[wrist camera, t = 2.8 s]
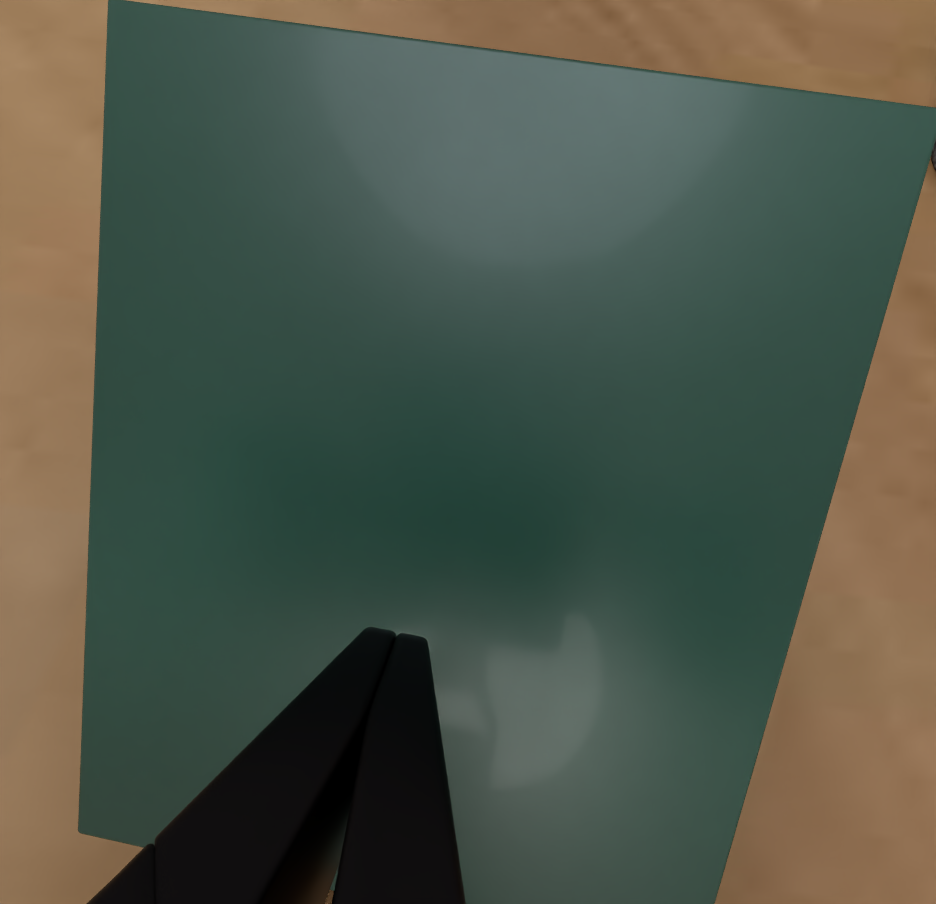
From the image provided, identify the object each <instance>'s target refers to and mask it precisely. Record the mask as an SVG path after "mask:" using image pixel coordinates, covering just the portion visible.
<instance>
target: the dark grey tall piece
mask: <svg viewBox="0 0 936 904" xmlns="http://www.w3.org/2000/svg"><path fill="white" fill-rule="evenodd" d="M931 155H932V162H933V165H934V167H935V169H936V140H935V143H934V147H933V150H932V154H931Z"/></svg>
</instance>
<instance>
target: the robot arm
mask: <svg viewBox="0 0 936 904" xmlns="http://www.w3.org/2000/svg"><path fill="white" fill-rule="evenodd" d="M338 866H339V868H338ZM337 868H338V873H337V878H336V884H335V889H334V894H333V900H332V904H466V901H465V894H464V887H463V881H462V874H461V867H460V860H459V853H458V846H457V839H456V832H455V825H454V819H453V812H452V805H451V798H450V791H449V784H448V777H447V770H446V763H445V756H444V750H443V743H442V736H441V729H440V722H439V715H438V708H437V701H436V694H435V688H434V681H433V674H432V667H431V660H430V653H429V646H428V641H427V640H426V638H424V637H421V636H416V635H411V634H406V633H400V634H398V635H397V636H396V633H395V632H393V631H391V630H386V629H380V628H375V627H368V628H366V629H364V630H363V631H362V632H361V633H360V634H359V635H358V636H357V637H356V638H355V639H354V640H353V641H352V642H351V643H350V644H349V645H348V646H347V647H346V648H345V649H344V650H343V651H342V652H341V653H340V654H339V655H338V656H337V657H336V658H335V659H334V660H333V661H332V662H331V663H330V664H329V665H328V666H327V667H326V668H325V669H324V670H323V671H322V672H321V673H320V674H319V675H318V676H317V677H316V678H315V679H314V680H313V681H312V682H311V683H310V684H309V685H308V686H307V687H306V688H305V689H304V690H303V691H302V692H301V693H300V694H299V695H298V696H297V697H295V698H294V699H293V700H292V701H291V702H290V703H289V704H288V705H287V706H286V707H285V708H284V709H283V710H282V711H281V712H280V713H279V714H278V715H277V716H276V717H275V718H274V719H273V720H272V721H271V722H270V723H269V724H268V725H267V726H266V727H265V728H264V729H263V730H262V731H261V732H260V733H259V734H258V735H257V736H256V737H255V738H254V739H253V740H252V741H251V742H250V743H249V744H248V745H247V746H246V747H245V748H244V749H243V750H242V751H241V752H240V753H239V754H238V755H237V756H236V757H235V758H234V759H233V760H232V761H231V762H230V763H229V764H228V765H227V766H226V767H225V768H224V769H223V770H222V771H221V772H220V773H219V774H218V775H217V776H216V777H215V778H214V779H213V780H212V781H211V782H210V783H209V784H208V785H207V786H206V787H205V788H204V789H203V790H202V791H201V792H200V793H199V794H198V795H197V796H196V797H195V798H194V799H193V800H192V801H191V802H190V803H189V804H188V805H187V806H186V807H185V808H184V809H183V810H182V811H181V812H180V813H179V814H178V815H177V816H176V817H175V818H174V819H173V820H172V821H171V822H170V823H169V824H168V825H167V826H166V827H165V828H164V829H163V830H162V831H161V832H160V833H159V834H158V835H157V836H156V837H155V842H154V844H152V843H150V844H148V845H146V846H145V847H144V848H143V849H142V850H141V851H140V852H139V853H138V854H137V855H136V856H135V857H134V858H133V859H132V860H131V861H130V862H129V863H128V864H127V865H126V866H125V867H124V868H123V869H122V870H121V871H120V872H119V873H118V874H117V875H116V876H115V877H114V878H113V879H112V880H111V881H110V882H109V883H108V884H107V885H106V886H105V887H104V888H103V889H102V890H101V891H100V892H99V893H98V894H96V895H95V896H94V897H93V898H92V899H91V900H90V901H89V902H88V903H87V904H324V903H325V901H326V898H327V895H328V893H329V890H330V887H331V885H332V882H333V879H334V877H335V874H336V871H337Z"/></svg>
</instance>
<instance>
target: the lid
mask: <svg viewBox="0 0 936 904" xmlns="http://www.w3.org/2000/svg"><path fill="white" fill-rule="evenodd" d="M935 140H936V108H934V107H926V106H919V105H911V104H904V103H896V102H889V101H881V100H873V99H866V98H858V97H851V96H843V95H836V94H828V93H821V92H813V91H805V90H798V89H790V88H783V87H775V86H768V85H760V84H753V83H745V82H737V81H730V80H722V79H715V78H707V77H700V76H692V75H685V74H677V73H669V72H662V71H654V70H647V69H639V68H632V67H624V66H617V65H609V64H601V63H594V62H586V61H579V60H571V59H564V58H556V57H549V56H541V55H534V54H526V53H518V52H511V51H503V50H496V49H488V48H481V47H473V46H466V45H458V44H450V43H443V42H435V41H428V40H420V39H413V38H405V37H398V36H390V35H382V34H375V33H367V32H360V31H352V30H345V29H337V28H330V27H322V26H314V25H307V24H299V23H292V22H284V21H277V20H269V19H262V18H254V17H246V16H239V15H231V14H224V13H216V12H209V11H201V10H194V9H186V8H179V7H171V6H163V5H156V4H148V3H141V2H133V1H126V0H109V1H108V18H107V46H106V74H105V102H104V129H103V157H102V185H101V212H100V240H99V268H98V295H97V323H96V351H95V379H94V406H93V434H92V462H91V489H90V517H89V545H88V572H87V600H86V628H85V655H84V683H83V711H82V739H81V766H80V794H79V822H78V831H79V833H82V834H86V835H91V836H95V837H100V838H104V839H108V840H113V841H117V842H122V843H126V844H130V845H135V846H139V847H145V846H146V845H148V844H150V843H152V844H154V842H155V837H156V836H157V835H158V834H159V833H160V832H161V831H162V830H163V829H164V828H165V827H166V826H167V825H168V824H169V823H170V822H171V821H172V820H173V819H174V818H175V817H176V816H177V815H178V814H179V813H180V812H181V811H182V810H183V809H184V808H185V807H186V806H187V805H188V804H189V803H190V802H191V801H192V800H193V799H194V798H195V797H196V796H197V795H198V794H199V793H200V792H201V791H202V790H203V789H204V788H205V787H206V786H207V785H208V784H209V783H210V782H211V781H212V780H213V779H214V778H215V777H216V776H217V775H218V774H219V773H220V772H221V771H222V770H223V769H224V768H225V767H226V766H227V765H228V764H229V763H230V762H231V761H232V760H233V759H234V758H235V757H236V756H237V755H238V754H239V753H240V752H241V751H242V750H243V749H244V748H245V747H246V746H247V745H248V744H249V743H250V742H251V741H252V740H253V739H254V738H255V737H256V736H257V735H258V734H259V733H260V732H261V731H262V730H263V729H264V728H265V727H266V726H267V725H268V724H269V723H270V722H271V721H272V720H273V719H274V718H275V717H276V716H277V715H278V714H279V713H280V712H281V711H282V710H283V709H284V708H285V707H286V706H287V705H288V704H289V703H290V702H291V701H292V700H293V699H294V698H295V697H297V696H298V695H299V694H300V693H301V692H302V691H303V690H304V689H305V688H306V687H307V686H308V685H309V684H310V683H311V682H312V681H313V680H314V679H315V678H316V677H317V676H318V675H319V674H320V673H321V672H322V671H323V670H324V669H325V668H326V667H327V666H328V665H329V664H330V663H331V662H332V661H333V660H334V659H335V658H336V657H337V656H338V655H339V654H340V653H341V652H342V651H343V650H344V649H345V648H346V647H347V646H348V645H349V644H350V643H351V642H352V641H353V640H354V639H355V638H356V637H357V636H358V635H359V634H360V633H361V632H362V631H363V630H364V629H366V628H368V627H375V628H380V629H386V630H391V631H393V632H395V633H396V636H397V635H398V634H400V633H406V634H411V635H416V636H421V637H424V638H426V640H427V641H428V646H429V653H430V660H431V667H432V674H433V681H434V688H435V694H436V701H437V708H438V715H439V722H440V729H441V736H442V743H443V750H444V756H445V763H446V770H447V777H448V784H449V791H450V798H451V805H452V812H453V819H454V825H455V832H456V839H457V846H458V853H459V860H460V867H461V874H462V881H463V887H464V894H465V901H466V904H714V903H715V900H716V896H717V893H718V890H719V886H720V883H721V879H722V876H723V872H724V869H725V865H726V862H727V858H728V855H729V852H730V848H731V845H732V841H733V838H734V834H735V831H736V827H737V824H738V820H739V817H740V814H741V810H742V807H743V803H744V800H745V796H746V793H747V789H748V786H749V782H750V779H751V776H752V772H753V769H754V765H755V762H756V758H757V755H758V751H759V748H760V744H761V741H762V738H763V734H764V731H765V727H766V724H767V720H768V717H769V713H770V710H771V706H772V703H773V700H774V696H775V693H776V689H777V686H778V682H779V679H780V675H781V672H782V668H783V665H784V662H785V658H786V655H787V651H788V648H789V644H790V641H791V637H792V634H793V630H794V627H795V624H796V620H797V617H798V613H799V610H800V606H801V603H802V599H803V596H804V592H805V589H806V586H807V582H808V579H809V575H810V572H811V568H812V565H813V561H814V558H815V554H816V551H817V548H818V544H819V541H820V537H821V534H822V530H823V527H824V523H825V520H826V516H827V513H828V510H829V506H830V503H831V499H832V496H833V492H834V489H835V485H836V482H837V478H838V475H839V472H840V468H841V465H842V461H843V458H844V454H845V451H846V447H847V444H848V440H849V437H850V434H851V430H852V427H853V423H854V420H855V416H856V413H857V409H858V406H859V402H860V399H861V396H862V392H863V389H864V385H865V382H866V378H867V375H868V371H869V368H870V364H871V361H872V358H873V354H874V351H875V347H876V344H877V340H878V337H879V333H880V330H881V326H882V323H883V320H884V316H885V313H886V309H887V306H888V302H889V299H890V295H891V292H892V288H893V285H894V282H895V278H896V275H897V271H898V268H899V264H900V261H901V257H902V254H903V250H904V247H905V244H906V240H907V237H908V233H909V230H910V226H911V223H912V219H913V216H914V212H915V209H916V206H917V202H918V199H919V195H920V192H921V188H922V185H923V181H924V178H925V174H926V171H927V168H928V164H929V161H930V157H931V154H932V150H933V147H934V143H935ZM338 868H339V866H338ZM338 868H337V871H336V874H335V877H334V879H333V882H332V885H331V887H330V890H333V891H334V889H335V884H336V878H337V873H338Z"/></svg>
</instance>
